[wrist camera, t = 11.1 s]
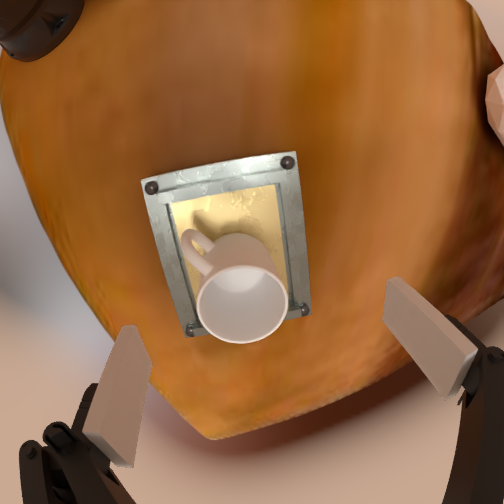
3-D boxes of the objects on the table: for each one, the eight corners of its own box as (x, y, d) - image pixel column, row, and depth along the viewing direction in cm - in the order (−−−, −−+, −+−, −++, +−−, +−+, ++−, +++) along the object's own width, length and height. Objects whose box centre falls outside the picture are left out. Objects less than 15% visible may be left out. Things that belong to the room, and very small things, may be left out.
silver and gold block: (150, 175, 35) (134, 182, 28) (285, 150, 35) (301, 151, 28) (188, 318, 42) (183, 348, 35) (302, 297, 43) (316, 324, 36)
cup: (236, 305, 37) (243, 356, 27) (165, 245, 33) (145, 283, 23) (283, 262, 35) (306, 304, 26) (213, 194, 31) (209, 214, 22)
